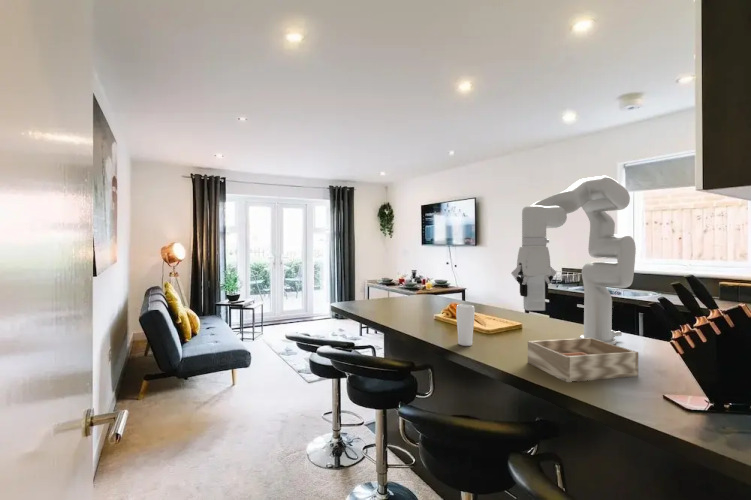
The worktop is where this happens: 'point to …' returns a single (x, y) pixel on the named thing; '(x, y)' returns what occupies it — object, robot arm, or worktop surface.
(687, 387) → the worktop surface
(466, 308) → the drinking glass
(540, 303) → the skincare box
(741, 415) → the worktop surface
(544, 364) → the box
